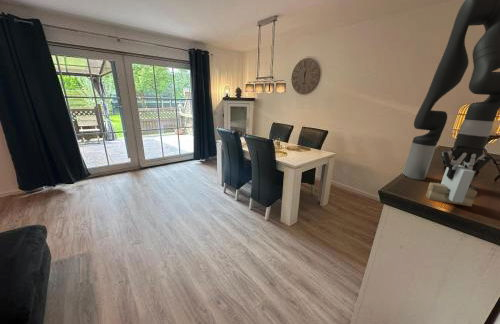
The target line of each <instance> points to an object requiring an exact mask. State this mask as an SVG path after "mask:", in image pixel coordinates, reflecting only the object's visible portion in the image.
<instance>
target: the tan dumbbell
mask: <svg viewBox="0 0 500 324" xmlns="http://www.w3.org/2000/svg"><path fill="white" fill-rule="evenodd" d="M438 183H439V182H429V185H428V188H427V191H426V194H425V197H426V198H427V199H428V200H432V201H436V202H442V203H450V204H455V205H461V206H466V207H472V205H473V203H474V202H475V199H476V196H477V195H478V191H477V190H476V191H475V190H474V189H471V188H468V190H467V193H466V195H465V198H464V200H463V203H459V202H453V201H451V200H449V199H448V196H449V193H448V192H446V191H447V188H448V187H447V186H445V185H444V184H438Z"/></svg>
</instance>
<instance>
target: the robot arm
mask: <svg viewBox="0 0 500 324" xmlns="http://www.w3.org/2000/svg"><path fill="white" fill-rule="evenodd" d="M469 26H483V28H484V29H485V30H484V31H485V32H484V34H483V35H482V36H481V37H479V38H480V39H479V40H477V42H476V43H475V45H474V46H473V50H472V62H473V63H472V64H473V70H472V73H471V76H470V77H471V78H470V80H469V83H468V89H469V91H470V93H472V94H474V95H480V96H482V95H483V96H485V95H486V96H487V95H488V96H487V98H486V99H485V100H483V101H479V102H478V101H476V102H472V103H470V104H469V106H468V107H467V111H466V113H465V115H464V118H463V121H462V122H461V124H460V127H459V128H458V129H459V130H458V133H457V135H456V138H455V141H454V143H453V147H452V148H450V150H441V152H440V155H441V159H442V165H443V166H444V167H446V168H447V167H448V168H449V169H448V172H447V177H448V178H449V179H453V177H454V174H455V172H456V170H455V169H456V168H457V167H458V165H461V163H462V162H463V167H465V168H468V169H470V170H472V171H474V172H479V171H480V170H481V169H482V168H483V167H484V166H485V165H487V164H488V163H489V162H490V161H491V160H492V157H491V156H488V155H485V154H484V152H483V150H484V148H485V147H486V144H487V142H488V139H489V138H490V135H491V133H492V129H493V126H494V122H495V120H496V117H497V115H498V113H499V110H500V71H497V70H499V69H500V0H464V1H463V2H462V4H461V5H460V8H459V9H458V12H457V14H456V17H455V19H454V23H453V27H452V29H451V33H450V35H449V38H448V42H447V45H446V47H445V50H444V51H443V54H442V57H441V59H440V61H439V62H438V63H439V64H438V65H437V68H436V70H435V72H434V75H433V78H432V81H431V83H430V86H429V88H428V91H427V93H426V94H425V95H426V96H425V98H424V100H423V101H422V104H421V106H420V107H419V110H418V112H417V113H416V115H415V118H414V123H413V127H414V128H415V129H416V130H421V131H423V130H424V131H428V132H427V133H425V134H422V135H418V136H415V137H413V139H412V141H411V145H410V147H409V152H408V156H407V158H406V162H405V165H404V169H403V172H402V175H403V174H404V175H405V176H404V175H403V176H404V177H406V176H407V177H406V178H409V179H412V180H413V179H414V180H419V181H422V180H423V181H424V180H425V179H426V178H427V177H426V176H427V174H428V171H429V168H430V166H431V163H432V160H433V156H434V153H435V150H436V147H437V144H438V142H439V141H440V139H441V136H442V134H443V131H444V129H445V127H446V124H447V121H448V113H447V112H446V111H445V110H432V109H433V107H434V105H436V103H437V102H438V101H439V100H440V99H442V98H443V97H444V96H445V95H447V94H448V93H449V92H450V91H451V90H453V89H454V88H455V87H457V86H458V85H459V84H460V83H461V81H462V80H463V77H464V75H465V73H466V71H467V69H468V66H469V63H470V62H469V56H468V51H467V47H466V43H465V40H466V36H467V31H468V29H469ZM451 156H452V158H451V160H450V157H451ZM476 160H477V161H476Z"/></svg>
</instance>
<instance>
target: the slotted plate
mask: <svg viewBox="0 0 500 324" xmlns="http://www.w3.org/2000/svg"><path fill="white" fill-rule="evenodd" d="M448 169H449V168H448V167H446V168H445V172H444V174H443V177H442V180H441V181H440V182H441V184H444V185H445V186H447V187H448V188H447V191H446V192H448V193H449V196H448V199H449V200H451V201H453V202H459V203H463V200H464V198H465V195H466V193H467V190H468V188H469V186H470V185H471V184H472V180H473V178H474V175H475V173H476V171H472V170H470V169H468V168H465V167H464V165H461V164H459V165H458V167H457V168H456V169H455V170H456V172H455V174H454V177H453V179H449V178H448V177H447V172H448Z"/></svg>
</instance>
